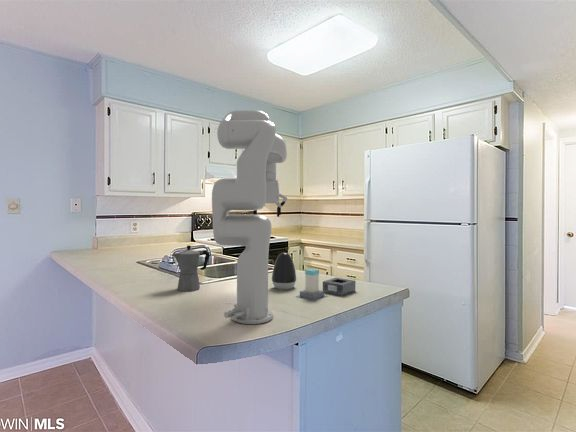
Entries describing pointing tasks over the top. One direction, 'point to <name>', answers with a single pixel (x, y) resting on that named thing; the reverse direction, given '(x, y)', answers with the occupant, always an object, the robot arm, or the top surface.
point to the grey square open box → (312, 295)
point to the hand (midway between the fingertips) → (267, 216)
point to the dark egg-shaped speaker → (284, 272)
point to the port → (339, 286)
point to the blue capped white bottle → (312, 280)
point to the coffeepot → (189, 268)
